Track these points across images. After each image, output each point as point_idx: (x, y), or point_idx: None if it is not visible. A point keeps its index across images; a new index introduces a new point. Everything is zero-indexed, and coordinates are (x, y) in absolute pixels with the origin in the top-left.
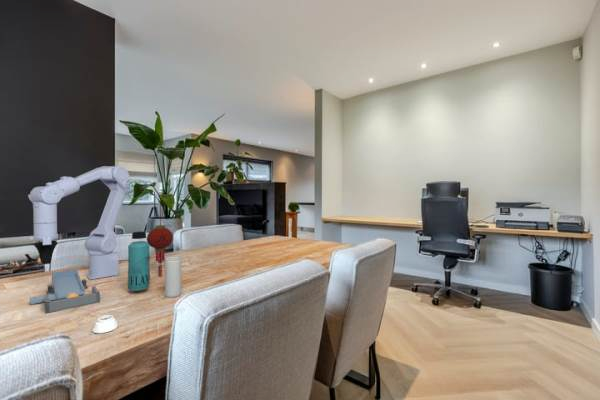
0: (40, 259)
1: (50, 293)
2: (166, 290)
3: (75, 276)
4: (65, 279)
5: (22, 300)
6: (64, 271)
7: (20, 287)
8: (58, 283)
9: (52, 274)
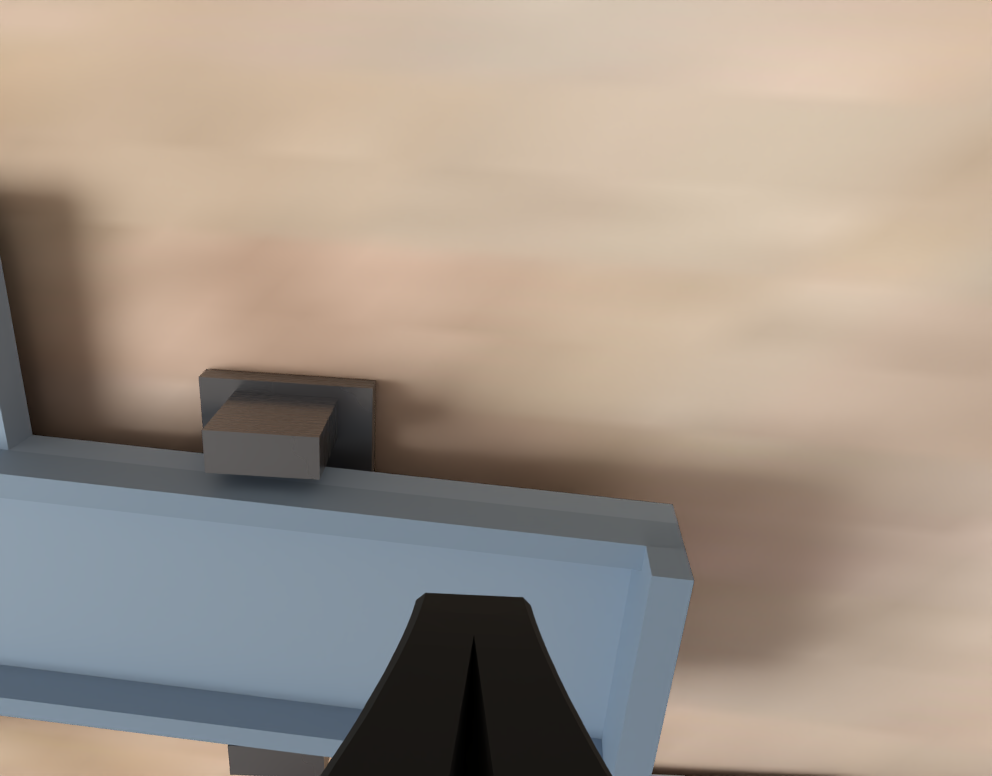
0: (391, 677)
1: (210, 412)
2: None
3: None
4: None
5: (185, 126)
6: (629, 707)
7: (964, 155)
8: (378, 543)
9: (648, 566)
